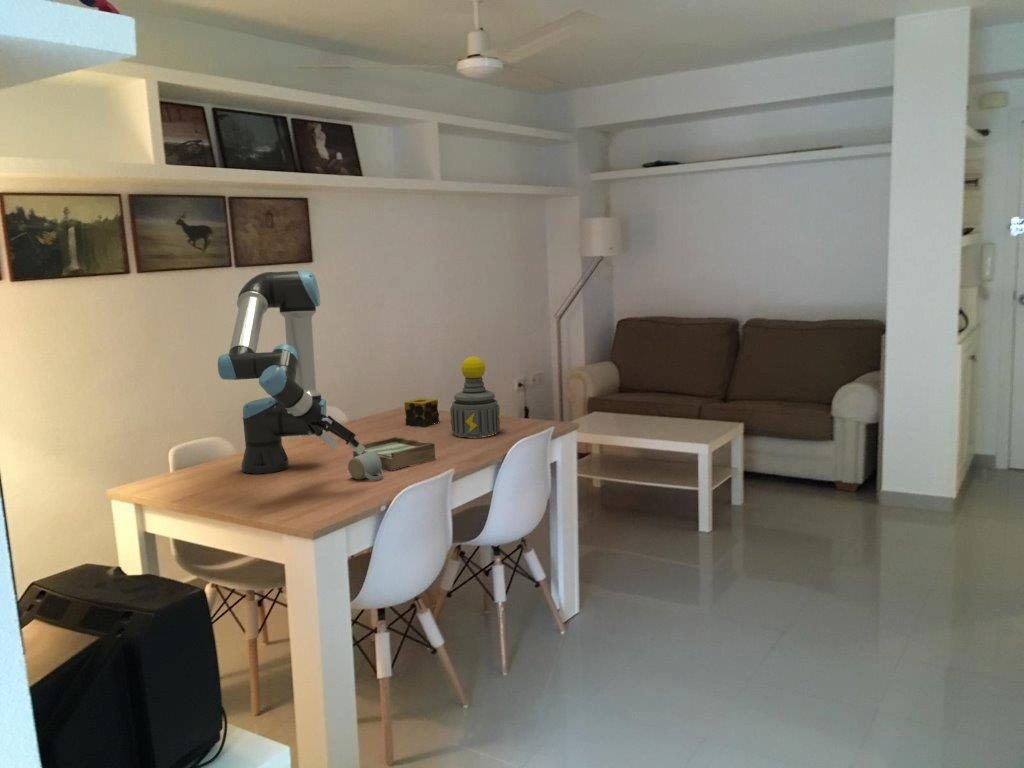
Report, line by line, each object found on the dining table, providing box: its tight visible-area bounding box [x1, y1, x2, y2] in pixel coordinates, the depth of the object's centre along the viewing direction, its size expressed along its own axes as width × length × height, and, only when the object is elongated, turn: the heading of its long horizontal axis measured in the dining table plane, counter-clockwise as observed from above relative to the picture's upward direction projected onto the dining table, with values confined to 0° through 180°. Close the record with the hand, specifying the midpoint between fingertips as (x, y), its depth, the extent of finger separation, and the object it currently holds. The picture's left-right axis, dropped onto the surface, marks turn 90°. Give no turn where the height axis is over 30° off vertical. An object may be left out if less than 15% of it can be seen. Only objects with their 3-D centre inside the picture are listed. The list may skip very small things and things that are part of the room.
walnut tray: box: [352, 436, 436, 472], centre depth 284 cm, size 20×19×6 cm
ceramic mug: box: [347, 451, 384, 481], centre depth 263 cm, size 11×8×8 cm
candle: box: [404, 398, 440, 428], centre depth 346 cm, size 10×10×10 cm
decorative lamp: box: [449, 355, 501, 438], centre depth 322 cm, size 19×19×30 cm
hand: (348, 448), depth 258 cm, fingers open, 13 cm apart
